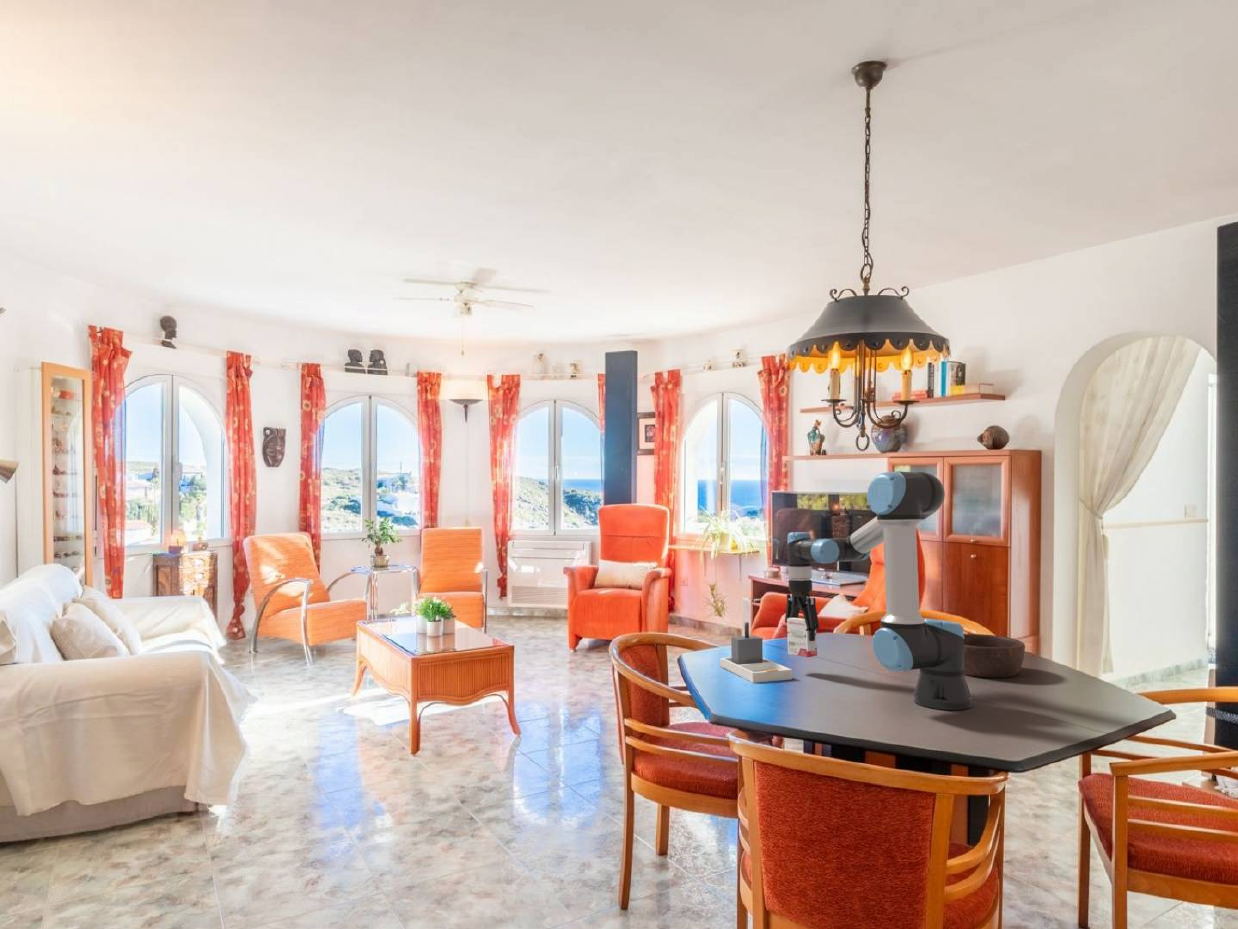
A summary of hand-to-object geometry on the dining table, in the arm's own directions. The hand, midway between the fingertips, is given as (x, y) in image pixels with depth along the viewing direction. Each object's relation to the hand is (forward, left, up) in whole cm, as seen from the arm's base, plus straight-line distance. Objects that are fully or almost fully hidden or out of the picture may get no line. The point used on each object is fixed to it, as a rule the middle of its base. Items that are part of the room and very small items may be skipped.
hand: (802, 648), depth 250 cm
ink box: (0, 0, -2) cm, 2 cm away
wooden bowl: (-16, -58, -9) cm, 61 cm away
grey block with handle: (+12, +14, -8) cm, 20 cm away
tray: (+6, +14, -8) cm, 17 cm away
